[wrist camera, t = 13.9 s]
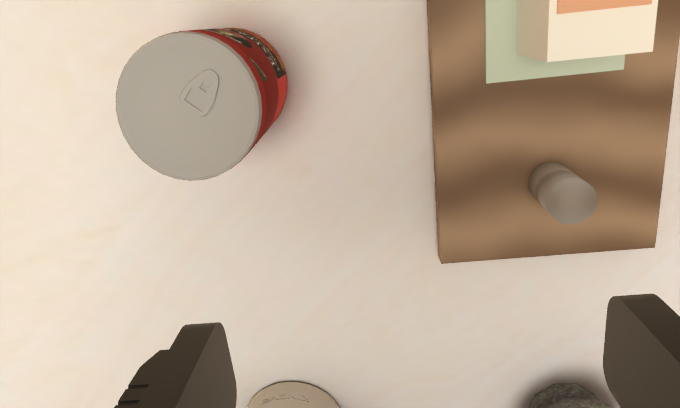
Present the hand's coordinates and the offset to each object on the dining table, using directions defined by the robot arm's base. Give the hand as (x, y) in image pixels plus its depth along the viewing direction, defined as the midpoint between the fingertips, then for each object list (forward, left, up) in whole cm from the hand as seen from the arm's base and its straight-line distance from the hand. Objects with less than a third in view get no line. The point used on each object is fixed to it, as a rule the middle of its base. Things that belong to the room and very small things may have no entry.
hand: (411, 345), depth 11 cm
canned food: (+3, +10, -28) cm, 30 cm away
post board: (0, -12, -28) cm, 30 cm away
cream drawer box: (+6, -12, -26) cm, 30 cm away
